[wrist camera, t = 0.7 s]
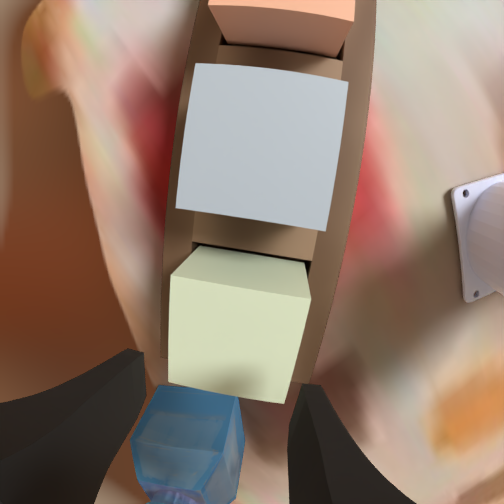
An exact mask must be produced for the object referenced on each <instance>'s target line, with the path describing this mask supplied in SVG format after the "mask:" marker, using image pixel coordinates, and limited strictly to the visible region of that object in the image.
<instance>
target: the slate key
mask: <svg viewBox="0 0 504 504" xmlns="http://www.w3.org/2000/svg"><path fill="white" fill-rule="evenodd" d="M347 91H348V82H346V81H341V80H337V79H332V78H327V77H322V76H316V75H311V74H305V73H298V72H292V71H285V70H278V69H270V68H261V67H251V66H240V65H226V64H205V63H196V64H195V69H194V75H193V81H192V86H191V92H190V98H189V105H188V111H187V118H186V124H185V131H184V139H183V146H182V154H181V162H180V170H179V179H178V189H177V198H176V208H179V209H186V210H193V211H200V212H207V213H214V214H221V215H227V216H234V217H241V218H247V219H254V220H260V221H266V222H272V223H279V224H285V225H291V226H297V227H303V228H309V229H314V230H320V231H326V227H327V221H328V216H329V211H330V205H331V199H332V194H333V188H334V182H335V176H336V170H337V164H338V157H339V151H340V144H341V137H342V130H343V123H344V115H345V107H346V99H347Z"/></svg>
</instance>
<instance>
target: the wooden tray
mask: <svg viewBox="0 0 504 504" xmlns="http://www.w3.org/2000/svg"><path fill="white" fill-rule="evenodd" d="M208 2H209V0H200V3H199V7H198V11H197V15H196V19H195V24H194V28H193V33H192V37H191V42H190V47H189V52H188V57H187V62H186V67H185V73H184V78H183V84H182V90H181V96H180V102H179V108H178V115H177V121H176V128H175V135H174V143H173V151H172V159H171V167H170V176H169V186H168V196H167V207H166V219H165V232H164V247H163V265H162V289H161V357H162V358H167V359H168V337H169V301H170V279H171V274H172V273H173V272H174V271H175V270H176V269H177V268H178V267H179V266H180V265H181V264H182V263H183V262H184V261H185V260H186V259H187V258H188V257H189V256H190V255H191V254H192V253H193V252H194V251H195V250H196V249H197V248H198V247H199V246H206V247H212V248H218V249H224V250H230V251H236V252H242V253H249V254H255V255H261V256H267V257H273V258H279V259H285V260H291V261H298V262H304V264H305V269H306V274H307V279H308V284H309V290H310V295H311V302H310V307H309V311H308V315H307V319H306V323H305V327H304V331H303V335H302V339H301V343H300V347H299V351H298V355H297V359H296V363H295V366H294V370H293V374H292V377H291V381H290V382H297V383H305V384H309V382H310V379H311V375H312V372H313V369H314V366H315V362H316V359H317V356H318V352H319V349H320V345H321V342H322V338H323V335H324V331H325V328H326V324H327V320H328V317H329V313H330V309H331V305H332V301H333V297H334V293H335V289H336V285H337V281H338V277H339V273H340V269H341V264H342V260H343V256H344V251H345V246H346V242H347V237H348V232H349V227H350V222H351V217H352V212H353V207H354V202H355V196H356V191H357V185H358V179H359V173H360V167H361V161H362V154H363V148H364V141H365V134H366V126H367V118H368V110H369V101H370V92H371V82H372V71H373V59H374V44H375V26H376V0H355V13H354V23H353V25H352V27H351V28H350V30H349V32H348V34H347V36H346V38H345V40H344V42H343V44H342V46H341V48H340V50H339V52H338V54H337V56H336V58H335V57H330V56H325V55H319V54H314V53H308V52H302V51H295V50H288V49H281V48H272V47H263V46H252V45H239V44H228V43H227V41H226V39H225V37H224V35H223V33H222V31H221V29H220V27H219V26H218V24H217V22H216V20H215V18H214V16H213V14H212V12H211V10H210V8H209V6H208ZM196 63H205V64H226V65H240V66H251V67H261V68H270V69H278V70H285V71H292V72H298V73H305V74H311V75H316V76H322V77H327V78H332V79H337V80H341V81H346V82H348V91H347V99H346V107H345V115H344V123H343V130H342V137H341V144H340V151H339V157H338V164H337V170H336V176H335V182H334V188H333V194H332V199H331V205H330V211H329V216H328V221H327V227H326V231H320V230H314V229H309V228H303V227H297V226H291V225H285V224H279V223H272V222H266V221H260V220H254V219H247V218H241V217H234V216H227V215H221V214H214V213H207V212H200V211H193V210H186V209H179V208H176V198H177V189H178V179H179V170H180V162H181V154H182V146H183V139H184V131H185V124H186V118H187V111H188V105H189V98H190V92H191V86H192V81H193V75H194V69H195V64H196Z"/></svg>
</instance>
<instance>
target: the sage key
mask: <svg viewBox="0 0 504 504" xmlns="http://www.w3.org/2000/svg"><path fill="white" fill-rule="evenodd" d="M310 302H311V295H310V290H309V284H308V279H307V274H306V269H305V264H304V262H298V261H291V260H285V259H279V258H273V257H267V256H261V255H255V254H249V253H242V252H236V251H230V250H224V249H218V248H212V247H206V246H199V247H198V248H197V249H196V250H195V251H194V252H193V253H192V254H191V255H190V256H189V257H188V258H187V259H186V260H185V261H184V262H183V263H182V264H181V265H180V266H179V267H178V268H177V269H176V270H175V271H174V272H173V273H172V274H171V279H170V301H169V337H168V382H171V383H175V384H179V385H183V386H187V387H192V388H196V389H201V390H205V391H210V392H215V393H220V394H225V395H231V396H236V397H242V398H248V399H254V400H261V401H267V402H274V403H282V404H284V402H285V399H286V395H287V392H288V388H289V385H290V381H291V377H292V374H293V370H294V366H295V363H296V359H297V355H298V351H299V347H300V343H301V339H302V335H303V331H304V327H305V323H306V319H307V315H308V311H309V307H310Z"/></svg>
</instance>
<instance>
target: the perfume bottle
mask: <svg viewBox="0 0 504 504" xmlns="http://www.w3.org/2000/svg"><path fill="white" fill-rule="evenodd" d="M130 444H131V450H132V455H133V461H134V466H135V471H136V475H137V480H138V482H139V483H140V485H141V486H142V488H143V489H144V491H145V493H146V494H147V495H148V497H149V498H150V500H151V502H148V503H146V504H230V503H231V502H232V501H233V500H234V499H236V494H237V488H238V482H239V476H240V470H241V464H242V458H243V452H244V446H245V437H244V430H243V424H242V418H241V412H240V405H239V399H238V397H236V396H231V395H225V394H220V393H215V392H210V391H205V390H201V389H196V388H192V387H177V386H164V385H159V386H158V388H157V390H156V392H155V393H154V396H153V397H152V399H151V401H150V403H149V405H148V406H147V408H146V410H145V413H144V414H143V416H142V418H141V420H140V422H139V424H138V425H137V427H136V429H135V431H134V433H133V435H132V437H131V439H130Z"/></svg>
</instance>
